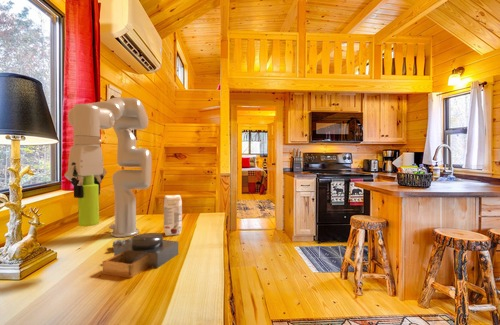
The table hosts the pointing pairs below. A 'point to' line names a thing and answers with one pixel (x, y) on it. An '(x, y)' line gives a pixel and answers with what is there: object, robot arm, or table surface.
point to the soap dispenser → (89, 203)
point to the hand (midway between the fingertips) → (87, 195)
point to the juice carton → (172, 215)
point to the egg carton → (120, 242)
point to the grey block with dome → (140, 255)
